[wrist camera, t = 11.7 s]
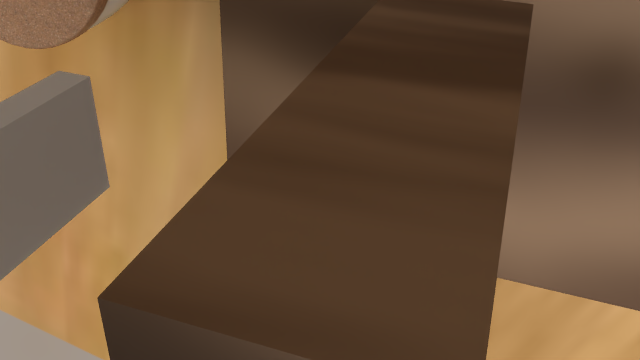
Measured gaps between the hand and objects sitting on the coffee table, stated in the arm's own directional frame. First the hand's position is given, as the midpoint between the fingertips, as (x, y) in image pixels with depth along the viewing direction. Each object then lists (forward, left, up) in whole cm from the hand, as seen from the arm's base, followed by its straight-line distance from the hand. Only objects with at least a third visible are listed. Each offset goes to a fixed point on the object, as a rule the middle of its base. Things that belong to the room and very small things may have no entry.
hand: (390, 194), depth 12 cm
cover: (0, 0, -20) cm, 20 cm away
